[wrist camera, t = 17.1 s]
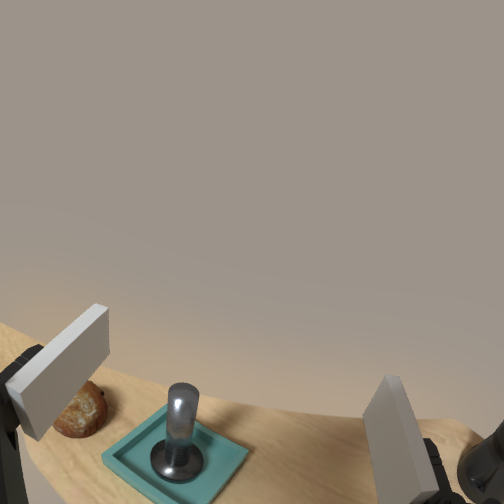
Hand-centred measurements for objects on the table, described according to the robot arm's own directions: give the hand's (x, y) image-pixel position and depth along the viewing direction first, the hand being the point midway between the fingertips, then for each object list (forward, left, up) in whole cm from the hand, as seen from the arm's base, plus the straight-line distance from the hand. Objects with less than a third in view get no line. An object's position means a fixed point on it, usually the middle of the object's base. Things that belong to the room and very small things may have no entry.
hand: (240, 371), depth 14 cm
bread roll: (+25, -6, -30) cm, 40 cm away
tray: (+9, -10, -30) cm, 33 cm away
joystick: (+9, -10, -29) cm, 32 cm away
